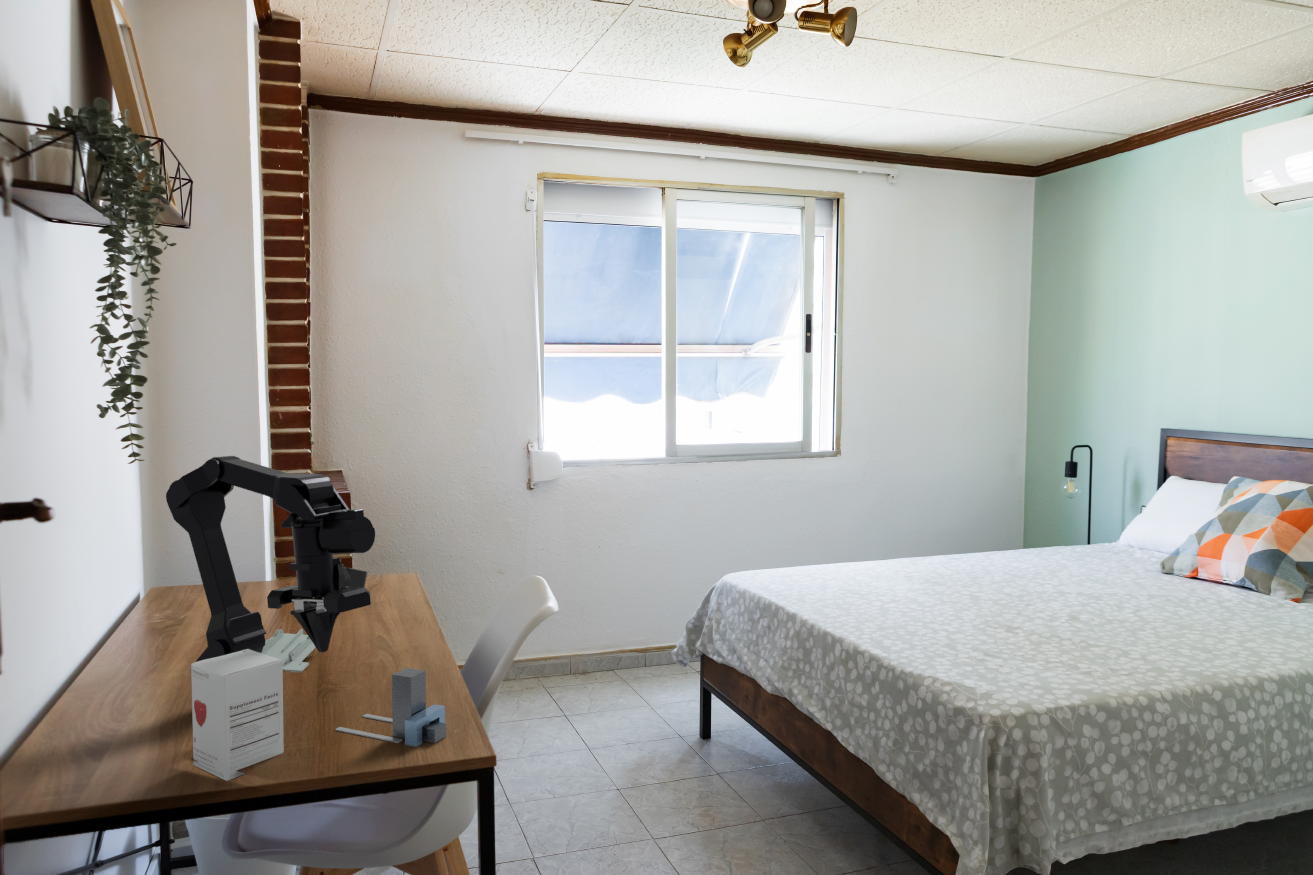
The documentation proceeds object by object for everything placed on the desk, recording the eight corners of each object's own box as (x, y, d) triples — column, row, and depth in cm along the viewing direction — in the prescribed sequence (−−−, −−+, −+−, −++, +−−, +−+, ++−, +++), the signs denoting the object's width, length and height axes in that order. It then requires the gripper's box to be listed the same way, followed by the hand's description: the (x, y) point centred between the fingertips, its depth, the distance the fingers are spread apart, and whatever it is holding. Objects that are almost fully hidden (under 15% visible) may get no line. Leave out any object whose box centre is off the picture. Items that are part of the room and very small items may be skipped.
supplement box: (190, 766, 125) (188, 662, 124) (250, 745, 132) (248, 647, 131) (225, 782, 120) (223, 674, 119) (285, 759, 127) (284, 657, 126)
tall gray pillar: (392, 735, 133) (392, 674, 133) (407, 727, 136) (407, 667, 136) (433, 743, 130) (432, 681, 130) (447, 735, 134) (447, 673, 133)
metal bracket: (268, 622, 181) (335, 626, 178) (273, 646, 182) (340, 651, 180) (224, 661, 167) (295, 667, 164) (230, 687, 169) (301, 693, 166)
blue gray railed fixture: (333, 737, 135) (332, 706, 135) (366, 720, 142) (366, 691, 142) (415, 754, 129) (414, 722, 129) (446, 735, 136) (445, 705, 136)
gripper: (393, 546, 142) (402, 642, 142) (320, 546, 152) (328, 635, 152) (335, 558, 132) (345, 661, 133) (261, 557, 142) (270, 653, 143)
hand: (323, 651), depth 140 cm, fingers closed
